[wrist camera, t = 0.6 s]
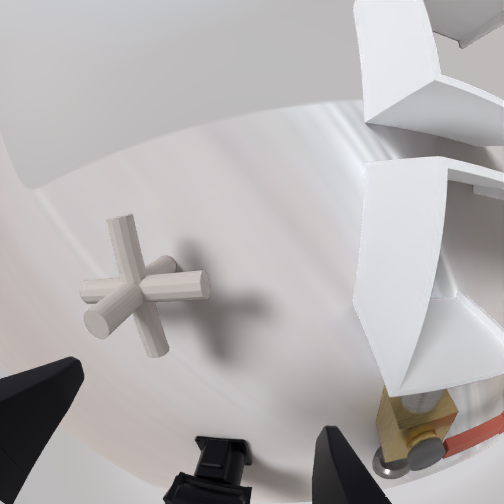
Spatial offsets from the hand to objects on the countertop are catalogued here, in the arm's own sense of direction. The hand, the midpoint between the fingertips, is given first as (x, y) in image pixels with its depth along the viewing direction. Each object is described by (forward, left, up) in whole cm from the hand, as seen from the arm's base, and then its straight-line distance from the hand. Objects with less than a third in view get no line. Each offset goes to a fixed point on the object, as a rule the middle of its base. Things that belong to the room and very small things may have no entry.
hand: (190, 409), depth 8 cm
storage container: (+8, -15, -15) cm, 22 cm away
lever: (-17, -21, -7) cm, 28 cm away
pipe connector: (+1, +7, -14) cm, 16 cm away
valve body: (-17, -15, -14) cm, 27 cm away
